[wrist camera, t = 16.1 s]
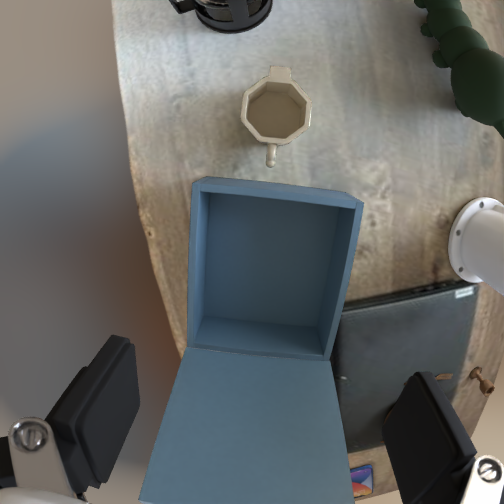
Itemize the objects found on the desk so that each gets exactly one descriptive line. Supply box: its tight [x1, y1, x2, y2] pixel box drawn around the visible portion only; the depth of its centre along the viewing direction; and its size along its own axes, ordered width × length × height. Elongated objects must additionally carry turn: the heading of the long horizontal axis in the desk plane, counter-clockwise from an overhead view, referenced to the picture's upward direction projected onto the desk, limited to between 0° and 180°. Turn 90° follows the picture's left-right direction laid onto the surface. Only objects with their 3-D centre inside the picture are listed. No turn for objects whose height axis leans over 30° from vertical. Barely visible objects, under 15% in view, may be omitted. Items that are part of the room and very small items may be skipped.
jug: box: [240, 66, 312, 168], centre depth 31 cm, size 10×7×6 cm, turn 174°
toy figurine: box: [414, 0, 504, 139], centre depth 21 cm, size 9×19×25 cm
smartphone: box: [350, 465, 373, 498], centre depth 55 cm, size 7×15×1 cm, turn 17°
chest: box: [187, 176, 364, 361], centre depth 36 cm, size 19×17×7 cm
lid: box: [138, 347, 355, 504], centre depth 27 cm, size 19×17×6 cm
